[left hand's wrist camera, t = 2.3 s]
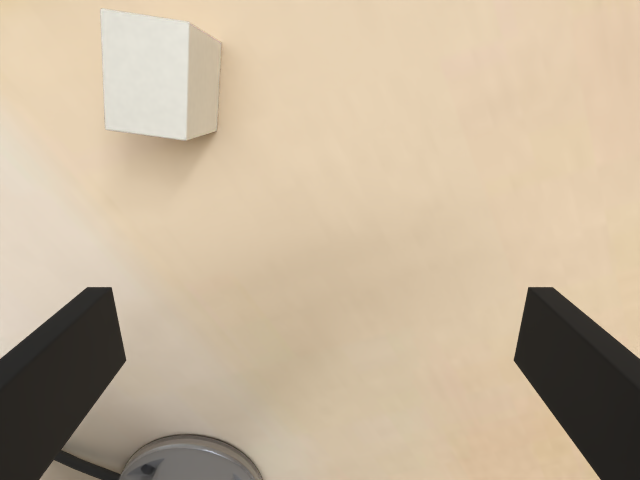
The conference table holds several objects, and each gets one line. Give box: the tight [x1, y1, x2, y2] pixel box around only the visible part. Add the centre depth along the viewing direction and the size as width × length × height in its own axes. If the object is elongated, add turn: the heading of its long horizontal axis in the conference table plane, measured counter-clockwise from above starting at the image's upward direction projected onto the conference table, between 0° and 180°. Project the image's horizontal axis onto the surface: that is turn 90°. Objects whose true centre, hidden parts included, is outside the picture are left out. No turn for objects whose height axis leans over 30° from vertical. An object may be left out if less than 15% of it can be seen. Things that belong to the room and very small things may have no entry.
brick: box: [100, 8, 221, 141], centre depth 26 cm, size 5×6×8 cm
